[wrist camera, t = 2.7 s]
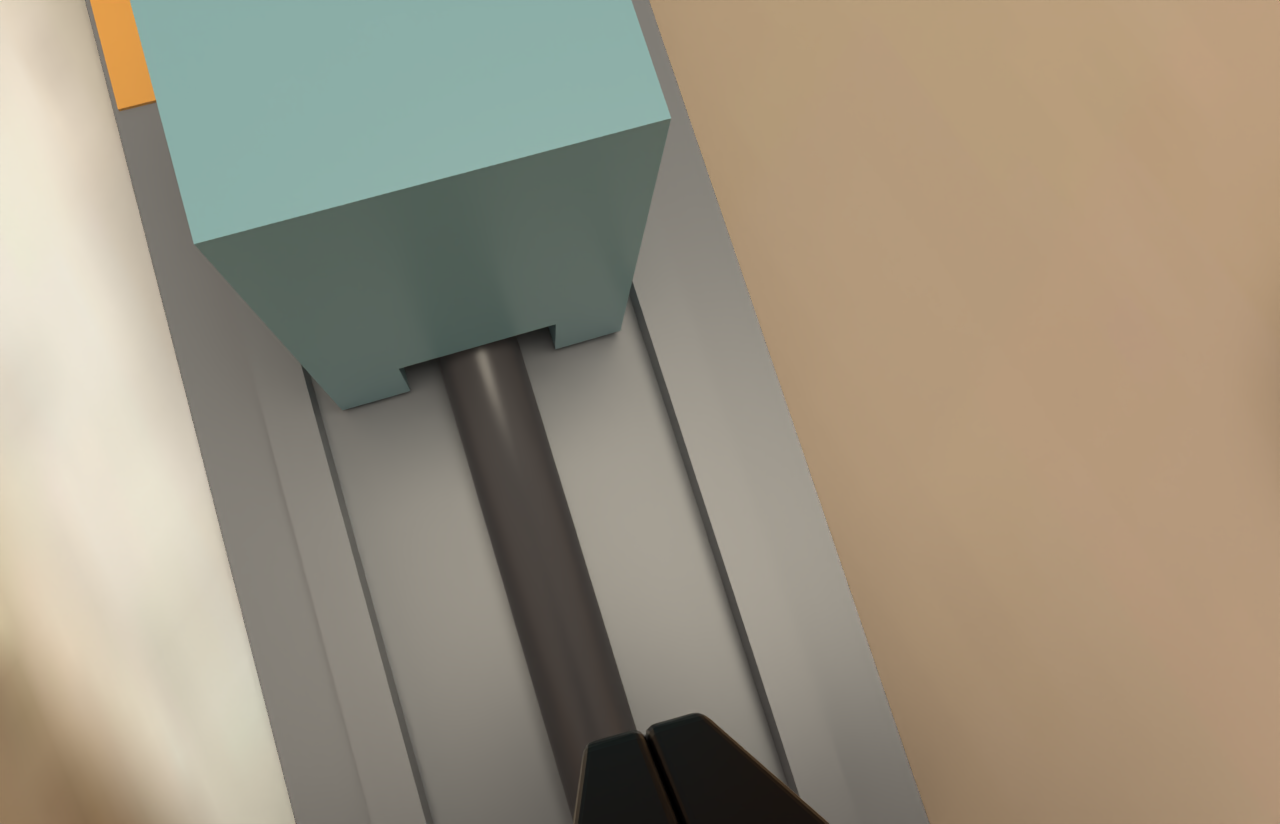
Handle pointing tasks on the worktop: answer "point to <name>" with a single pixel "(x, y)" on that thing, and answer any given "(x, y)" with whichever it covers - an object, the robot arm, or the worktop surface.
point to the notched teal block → (411, 169)
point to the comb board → (523, 531)
